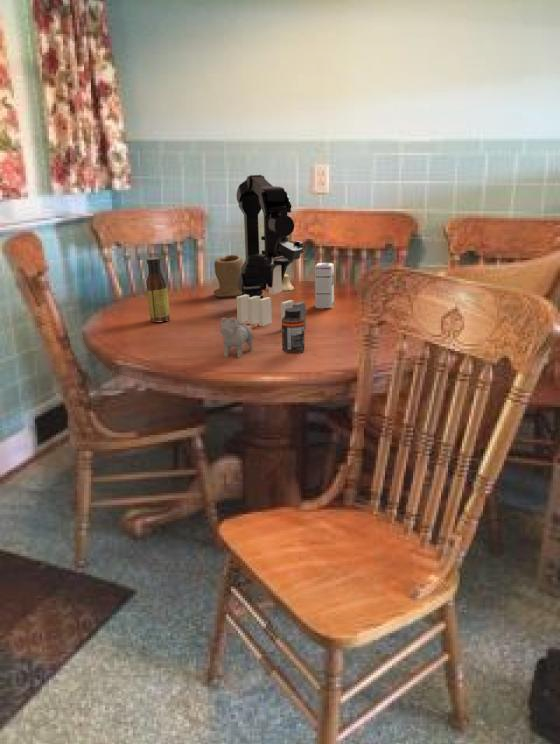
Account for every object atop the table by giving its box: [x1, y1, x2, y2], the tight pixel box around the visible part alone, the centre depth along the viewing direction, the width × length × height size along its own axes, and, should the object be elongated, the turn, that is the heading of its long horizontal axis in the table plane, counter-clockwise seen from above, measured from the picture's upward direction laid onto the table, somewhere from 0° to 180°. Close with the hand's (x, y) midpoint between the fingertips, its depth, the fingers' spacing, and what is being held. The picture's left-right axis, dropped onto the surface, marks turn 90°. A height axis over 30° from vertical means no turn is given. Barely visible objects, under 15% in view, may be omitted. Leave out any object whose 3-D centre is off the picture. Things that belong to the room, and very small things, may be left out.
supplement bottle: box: [281, 308, 305, 354], centre depth 173 cm, size 6×6×11 cm
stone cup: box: [213, 254, 245, 298], centre depth 242 cm, size 15×12×15 cm
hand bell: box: [282, 272, 295, 292], centre depth 252 cm, size 8×8×16 cm
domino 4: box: [268, 265, 283, 295], centre depth 196 cm, size 2×4×8 cm, turn 144°
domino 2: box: [247, 296, 260, 325], centre depth 204 cm, size 2×4×8 cm, turn 144°
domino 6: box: [292, 301, 307, 330], centre depth 194 cm, size 2×4×8 cm, turn 144°
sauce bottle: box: [145, 257, 171, 322], centre depth 206 cm, size 7×6×20 cm
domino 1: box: [236, 294, 250, 323], centre depth 206 cm, size 2×4×8 cm, turn 144°
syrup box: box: [314, 262, 335, 309], centre depth 222 cm, size 6×6×14 cm
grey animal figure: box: [219, 317, 253, 358], centre depth 171 cm, size 5×13×11 cm, turn 158°
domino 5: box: [280, 299, 295, 330], centre depth 197 cm, size 2×4×8 cm, turn 144°
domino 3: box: [258, 296, 273, 327], centre depth 201 cm, size 2×4×8 cm, turn 144°
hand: (275, 285), depth 196 cm, fingers closed on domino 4, 4 cm apart
